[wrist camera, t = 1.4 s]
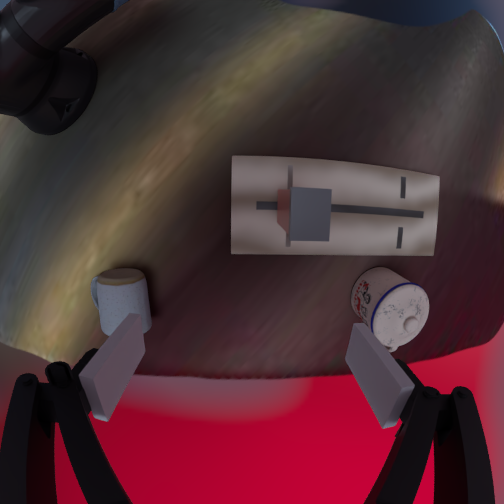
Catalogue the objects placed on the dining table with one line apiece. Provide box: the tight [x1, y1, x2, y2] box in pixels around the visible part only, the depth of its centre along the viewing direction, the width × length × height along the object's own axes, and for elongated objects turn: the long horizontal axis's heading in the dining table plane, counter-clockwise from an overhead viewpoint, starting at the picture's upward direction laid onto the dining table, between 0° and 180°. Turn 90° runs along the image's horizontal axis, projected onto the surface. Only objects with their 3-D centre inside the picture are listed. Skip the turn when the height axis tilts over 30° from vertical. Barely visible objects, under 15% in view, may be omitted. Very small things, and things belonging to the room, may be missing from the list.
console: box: [231, 156, 439, 256], centre depth 35 cm, size 12×30×3 cm, turn 89°
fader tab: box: [277, 187, 332, 242], centre depth 27 cm, size 4×3×11 cm
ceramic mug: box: [91, 268, 152, 336], centre depth 35 cm, size 11×8×8 cm
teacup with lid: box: [351, 267, 429, 352], centre depth 34 cm, size 12×9×12 cm
